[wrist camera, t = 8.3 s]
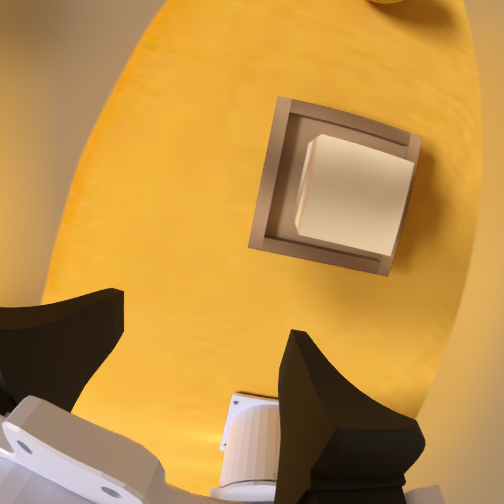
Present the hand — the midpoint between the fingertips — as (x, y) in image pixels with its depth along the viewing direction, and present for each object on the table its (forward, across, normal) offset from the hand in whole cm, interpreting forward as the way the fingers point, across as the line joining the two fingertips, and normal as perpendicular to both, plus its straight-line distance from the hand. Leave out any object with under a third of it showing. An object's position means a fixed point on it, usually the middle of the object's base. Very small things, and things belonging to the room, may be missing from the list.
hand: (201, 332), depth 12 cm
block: (+8, -6, -6) cm, 11 cm away
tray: (+10, -6, -6) cm, 13 cm away
